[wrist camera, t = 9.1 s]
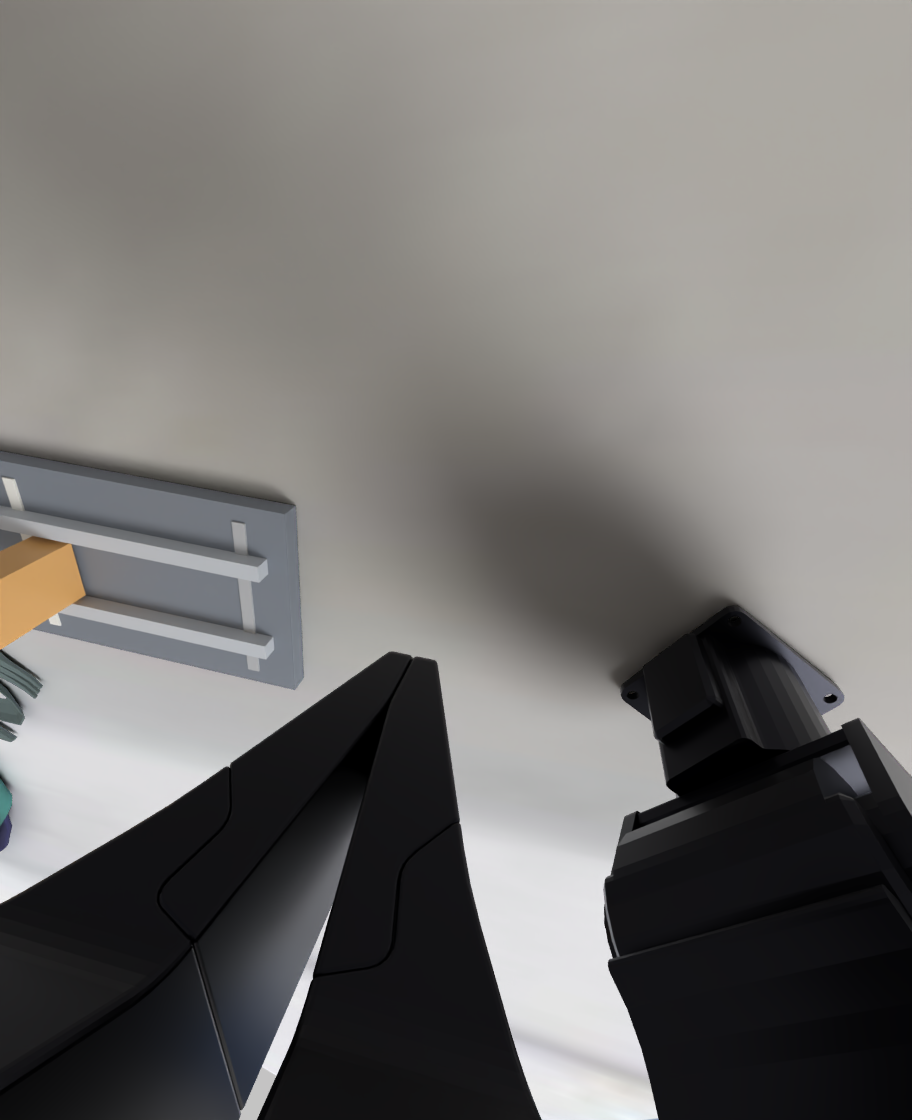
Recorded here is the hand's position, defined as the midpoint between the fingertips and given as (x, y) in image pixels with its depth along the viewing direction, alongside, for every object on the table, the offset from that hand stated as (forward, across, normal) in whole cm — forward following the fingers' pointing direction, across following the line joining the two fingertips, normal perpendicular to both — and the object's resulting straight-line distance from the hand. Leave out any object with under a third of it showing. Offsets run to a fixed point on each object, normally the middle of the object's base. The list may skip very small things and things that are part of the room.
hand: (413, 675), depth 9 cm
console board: (+13, +17, +9) cm, 23 cm away
